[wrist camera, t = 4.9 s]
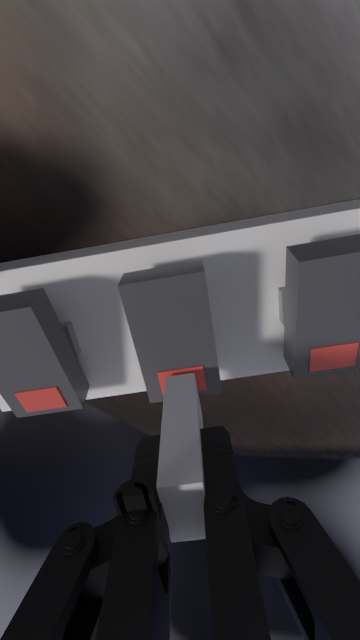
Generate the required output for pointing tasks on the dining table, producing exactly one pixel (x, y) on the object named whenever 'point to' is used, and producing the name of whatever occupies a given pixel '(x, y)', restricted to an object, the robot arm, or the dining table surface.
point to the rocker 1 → (37, 358)
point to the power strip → (222, 283)
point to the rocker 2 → (171, 326)
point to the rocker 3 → (322, 306)
